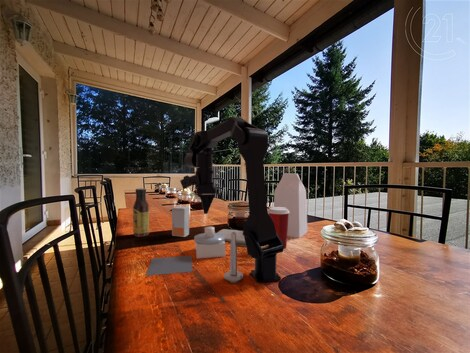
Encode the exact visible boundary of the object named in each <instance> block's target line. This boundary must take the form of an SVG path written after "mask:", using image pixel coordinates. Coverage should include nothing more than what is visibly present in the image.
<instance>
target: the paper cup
mask: <svg viewBox="0 0 470 353" xmlns="http://www.w3.org/2000/svg"><path fill="white" fill-rule="evenodd" d="M267 211H268V214H269V215H270V217H271V218H272V220H273V221H274V225H275V230H276V233H277V235H278V236H279V238H280V239H281V241H282V242H283V244H284V250H285V249H286V248H287V244H288V243H287V242H288V236H287V231H288V216H289V213H290V212H289V210H288V209H287V208H284V207H274V206H272V207H269V208H268V210H267Z"/></svg>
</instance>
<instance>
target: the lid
mask: <svg viewBox="0 0 470 353" xmlns="http://www.w3.org/2000/svg"><path fill="white" fill-rule="evenodd" d="M193 239H194V240H193V241H194V242H195V244H196V243H199V244H205V245H211V244H218V243H221V242H223V241H224V240H225V236H224V235H223V234H220V233H218V232H216V231H215V226H205V227H204V232H203V233H197V234H196V235H194V237H193Z"/></svg>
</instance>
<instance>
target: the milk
mask: <svg viewBox="0 0 470 353" xmlns="http://www.w3.org/2000/svg"><path fill="white" fill-rule="evenodd" d="M273 198H274V199H273V207H284V208H287V209H288V210H289V212H290V213H289V216H288V231H287V237H290V238H297V239H300V238H302V237H303V236H304V235H306V234H307V233H308V210H307V209H308V208H307V207H308V206H307V190H306V187H305V186H304V184H303V182H302V181H301V179H300V176H299V174H298V173H295V172H294V173H291V172H290V173H288V172H286V173H285V172H284V173H283V175H282V176H281V179H280V181H279V183H278V184H277V186H276V188H275V190H274V195H273Z"/></svg>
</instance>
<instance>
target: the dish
mask: <svg viewBox="0 0 470 353" xmlns="http://www.w3.org/2000/svg"><path fill="white" fill-rule="evenodd" d="M195 257H196V259H207V258H221V257H222V258H223V257H226V241H223V242H221V243H218V244H211V245H205V244H199V243H196V242H195Z"/></svg>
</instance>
